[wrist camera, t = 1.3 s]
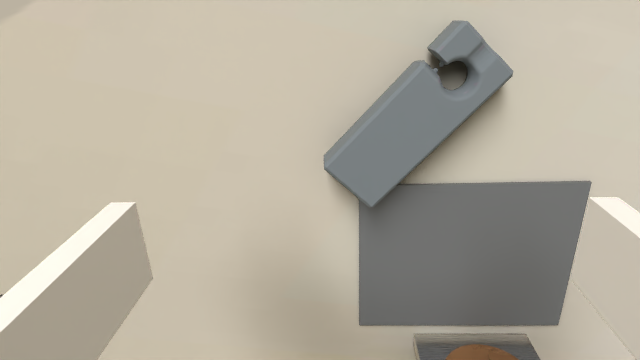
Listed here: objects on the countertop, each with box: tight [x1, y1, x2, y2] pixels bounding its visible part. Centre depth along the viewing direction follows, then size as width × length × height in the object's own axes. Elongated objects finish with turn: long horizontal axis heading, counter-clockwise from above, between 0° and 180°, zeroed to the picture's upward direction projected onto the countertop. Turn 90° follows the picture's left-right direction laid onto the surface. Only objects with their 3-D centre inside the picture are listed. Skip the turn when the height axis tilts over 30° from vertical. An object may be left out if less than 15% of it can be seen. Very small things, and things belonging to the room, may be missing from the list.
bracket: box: [324, 21, 513, 207], centre depth 23 cm, size 4×10×2 cm, turn 138°
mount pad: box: [359, 181, 592, 325], centre depth 28 cm, size 14×11×1 cm
